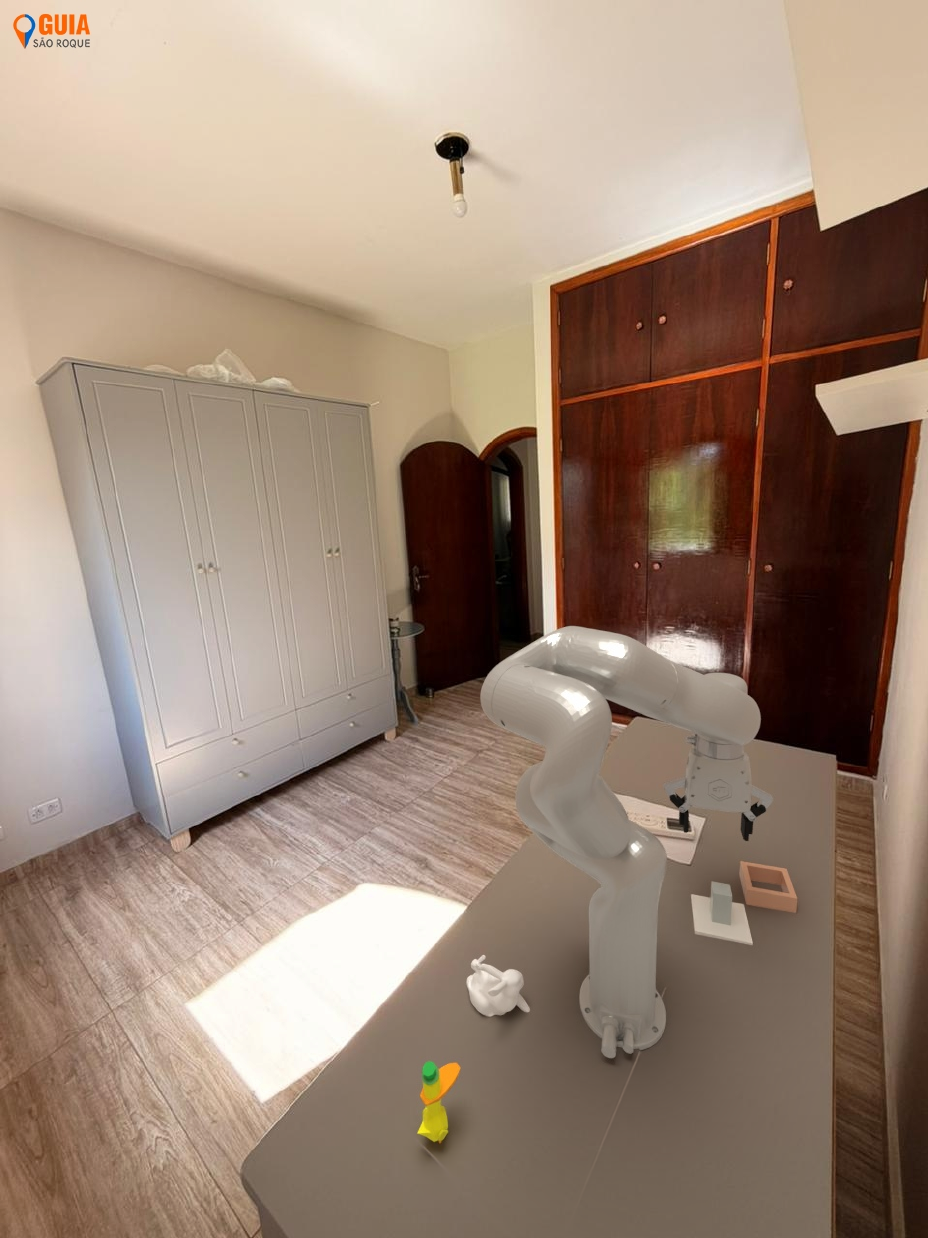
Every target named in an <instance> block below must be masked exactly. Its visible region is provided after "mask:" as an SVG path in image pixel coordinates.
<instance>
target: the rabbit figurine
mask: <svg viewBox="0 0 928 1238" xmlns="http://www.w3.org/2000/svg"><path fill="white" fill-rule="evenodd" d="M484 960H486V955H485V954H482V955H481V956H480V957H479V958H478V959H477V958H474V959H473V960H472V961H471V963H470V967H471V969H472V970H473V971H474V973H473V974H470V975H469V976H468V977H467V978H466V987H467V990H468V993H469V1000H470V1003H471V1004H472V1006H473V1007H474V1008H475V1009H476V1011H478V1012H479V1013H480V1014H481V1015H483V1016H486V1017H492V1016H495V1015H497V1016H502V1015H503V1016H504V1015H505V1014H506V1013H507V1012H511V1011H512V1010H514V1009H515V1007H516V1006H517V1007H518V1008H519V1009H520V1010H521V1011H522V1012H524V1013H530V1011H531V1009H530V1006H529V1005H528V1003H527V1001H526V1000H525V999H524V997H523V996H522V995H521V994H520V993H521V989H522V988H523V987H524V983H525V979H524V976H523V974H522V972H520V971H518V970H517V969H513V968H509V969H507V970H505V971H503V972H502V971H501V970H499V969H498V968H496V967H495V966H493V965H491V964H486V963H482V962H483V961H484Z"/></svg>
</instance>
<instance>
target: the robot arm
mask: <svg viewBox="0 0 928 1238" xmlns="http://www.w3.org/2000/svg"><path fill="white" fill-rule="evenodd" d="M479 696H480V697H479V698H480V705H481V708H482V710H483V713H484V714H485V715H486V717H487V719H488V720H490V721H491V723H493V724H495V725H496V726H498V727H500V728H502V729H504V730H505V731H508V732H511V733H512V734H515V735H518V736H519V737H522V738H524V739H527V740H529V741H531V742H533V743H536V744H537V745H540V746H541V747H544V748H545V753H544V757H543V760H541V762H537V763H535V764H534V765H531V766H529V767H528V768H527V769H526V770H525V771H524V773H522V775H521V777H520V778H519V781H518V783H517V785H516V786H517V787H516V790H515V795H514V796H515V798H514V799H515V800H514V801H515V807H516V812H517V815H518V817H519V818H520V820H521V821H522V823H523V824H524V825H525V826H526V827H527V828H528V829H529V830H530V831H531V832H532V833H533V834H534V835H535V836H536V837H537V838H538V839H540V841H541V842H543V843H544V845H546V846H547V848H549V849H550V850H551V851H553V853H555V854H556V855H557V856H559V857H561V858H562V859H564V860H565V861H566V862H568V863H569V864H571V865H573V866H574V867H576V868H577V869H579V870H580V871H582V872H583V873H585V874H586V875H588V876H589V877H590V878H592V879H594V880H595V881H596V882H598V883H599V884H600V887H599V888H598V889H596V891H595V892H594V893H593V894H592V896H591V898H590V901H589V904H588V905H589V906H588V923H589V924H588V926H589V927H588V928H589V930H588V931H589V932H588V933H589V936H588V938H589V943H588V945H589V955H588V956H589V958H588V959H589V973H588V974H587V975H586V977H585V978H584V979H583V981H582V982H581V986H580V988H579V1007H580V1013H581V1014H582V1017H583V1019H584V1022H585V1023H586V1025H587V1026H588V1027H589V1029H591V1031H592V1032H593V1033H594V1034H595V1035H596V1036H597V1037H599V1038H600V1039H601V1054H602V1055H603V1056H604V1057H606V1058H608V1059H614V1058H615V1057H616V1055H617V1047H619V1048H622V1050H623V1051H624V1052H625V1053H627V1054H632V1053H634V1050H635V1049H636V1050H637V1049H639V1051H643V1050H646V1049H648V1048H651V1047H653V1046H654V1045H655V1044H657V1043H658V1042H659V1041H660V1039H661V1038H662V1036H663V1035H664V1032H665V1029H666V1024H667V1011H666V1006H665V1004H664V1000H663V998H662V996H661V995H660V993H659V991H658V990H657V988H656V987H657V986H656V984H657V980H656V979H657V950H658V949H657V948H658V947H657V943H658V918H659V917H658V914H659V913H658V912H659V911H658V910H659V903H660V896H661V890H662V886H663V883H664V878H665V875H666V871H667V865H668V855H667V850H666V848H665V846H664V845H663V843H662V842H661V840H660V839H659V838H658V837H657V836H656V835H655V834H654V833H652V832H651V831H650V830H648V829H647V828H645V827H643V826H641V825H640V824H638V823H636V822H635V821H634V820H633V821H632V820H630V818H629V816H628V813H627V811H626V809H625V807H624V805H623V803H622V802H621V801H620V799H619V797H618V796H616V794H615V793H614V792H613V791H612V789H611V787H610V786H609V785H608V784H607V783H606V781H605V780H604V779H603V777H602V776H601V774H600V771H601V768H602V765H603V761H604V757H605V754H606V752H607V748H608V745H609V741H610V738H611V734H612V728H613V717H612V716H613V715H612V711H611V708H610V705H609V703H608V701H610V702H613V703H615V704H617V705H619V706H622V707H625V708H627V709H630V710H633V711H634V712H637V713H638V714H642V715H643V716H646V717H648V718H652V719H655V720H657V721H661V722H663V723H666V724H669V725H671V726H673V727H675V728H678V729H682V730H684V731H688V732H692V733H693V734H691V735H685V736H686V737H685V743H686V744H691V745H692V746H691V747H690V750H689V754H688V758H687V762H686V768H685V769H686V770H685V775H684V776H680V777H679V778H675V779H673V780H669V781H666V782H664V783H663V789H664V791H665V793H666V795H667V796H668V798H669V801H670V802H671V803H672V804H673V805H674V806H675V807H676V808H677V809H678V823H679V826H682V827H683V828H682V829H683V833H685V834H688V833H689V827H690V826H689V822H690V813H689V809H691V807H693V808H697V809H702V810H703V809H704V810H709V811H710V810H711V811H720V812H727V813H734V814H741V816H740V817H741V819H740V833H741V837H742V839H743V841H745V842H749V839H750V835H753V831H754V822H756V820H757V818H758V817H760V816H761V815H763V814H765V813H766V812H767V809H768V808H769V807H770V806H771V804H772V803H773V802H774V798H773V796H772V794H771V793H769V792H768V791H765V790H763V789H762V788H760V787H759V786H756V785H754V784H752V771H751V762H750V759H749V758H750V757H749V755H748V754H747V752H746V751H744V750H745V745H747V744H749V743H751V741H753V739H755V738H756V736H757V734H758V732H759V730H760V728H761V720H762V718H761V717H762V716H761V712H760V708H759V706H758V704H757V702H756V701H755V699H754V698H753V697H751V696H750V695H748V685H747V682H746V681H745V679H743V678H742V677H740V676H738V675H735V674H731V673H729V672H727V673H726V672H710V673H705V674H702V673H701V672H698V671H696V670H693V669H691V668H689V667H687V666H684V665H681V664H678V663H676V662H673V661H672V660H670V659H668V658H667V657H665V656H663V655H661V653H659V652H656V651H655V650H653V649H652V648H650V647H648V646H647V645H645V644H643V643H641V641H639V640H636V639H635V638H633V637H630V636H629V635H625V634H621V633H615V632H612V631H605V630H602V629H601V630H599V629H595V628H587V627H584V626H578V625H577V626H576V625H568V626H565V627H561V628H558V629H555V630H553V631H551V632H549V633H547V634H545V635H543V636H541V637H540V638H538V639H536V640H535V641H533V642H531V643H530V644H528V645H526V646H525V647H523V648H522V649H519V650H518V651H516V652H514V653H513V654H511V655H509V656H508V657H506V658H505V659H503V660H502V661H500V662H499V663H498V664H496V665H495V666H494V667H493V668H492V669H491V670H490V671H489V673H487V676H486V678H485V679H484V681H483V684H482V686H481V690H480V695H479ZM681 788H684V790H685V791H684V792H685V793H684V794H683V795H682V796H679V795H678V794H677V793H676V792H675V790H678V789H681ZM752 796H753V797H755V798H758V799H759V800H758V801H757V802H755V803H753V804H752Z"/></svg>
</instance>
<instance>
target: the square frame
mask: <svg viewBox="0 0 928 1238" xmlns="http://www.w3.org/2000/svg"><path fill="white" fill-rule="evenodd" d="M738 875H739V876H738V877H739V880H740V885H741V888H742V891H743V897H744V900H745V901H744V902H745V905H746V906H753V907H758V908H764V909H769V910H777V911H781V912H782V911H783V912H789V913H795V914H797V910H798V909H797V905H798V896H797V894H796V891H795V888H794V885H793V883H792V880H791V877H790V874H789V871H788V869H787V868H786V867H785V868H784V867H778V866H773V865H772V866H771V865H766V864H760V863H755V862H754V863H753V862H749V861H743V860H740V861H739V874H738ZM752 881H753V882H759V883H765V884H773V885H779V886H780V887H781V891H778V890H772V889H766V888H761V887H755V886H753V884H752Z"/></svg>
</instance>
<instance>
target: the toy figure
mask: <svg viewBox="0 0 928 1238" xmlns="http://www.w3.org/2000/svg"><path fill="white" fill-rule="evenodd" d="M461 1068H462V1067H461V1066H460V1065H459V1064H458V1062H449V1063H447V1064H445V1065H443V1066H441V1067H440V1068H439V1067H438V1066H437V1065H436V1064H435V1062H433V1061H431V1060H428V1061H426V1062H425V1063H424V1065H423V1067H422V1072H421V1080H422V1086H423V1087H422V1089H421V1092H420V1095H419V1097H420V1099H421V1101H422V1104H423V1105H424V1106H425V1107H424V1108H423V1110H422V1122H421V1124H420V1127H419V1129H418V1130H417V1133H416V1134H417V1135H420V1136H423V1137H425V1138H427V1139H429V1140H430V1141H432V1142H433V1143H435V1142H438V1144H442V1141H443V1140H444V1139H445V1137H446V1136H447V1134H448V1133H449V1130H448V1128H449V1123H448V1116H447V1109H446V1107H445V1106H444V1105H442V1100H443V1098H444V1097H446V1095H447V1094H448V1093H449V1091H450V1090H451V1089H452V1087H453V1086H454V1085H455V1084H456V1082H457V1080H458V1078H459V1076H460V1072H461Z"/></svg>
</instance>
